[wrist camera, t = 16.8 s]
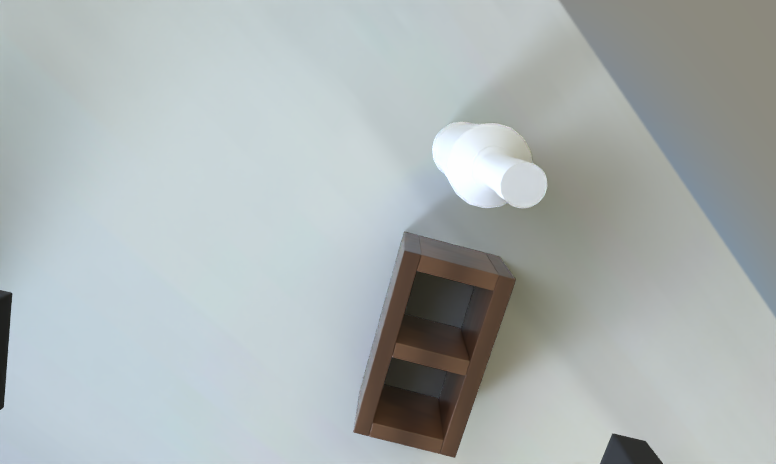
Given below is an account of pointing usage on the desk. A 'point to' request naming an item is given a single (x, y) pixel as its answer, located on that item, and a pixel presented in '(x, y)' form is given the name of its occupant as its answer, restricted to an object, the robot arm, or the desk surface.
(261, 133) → the desk surface
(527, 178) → the bottle
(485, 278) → the caddy
